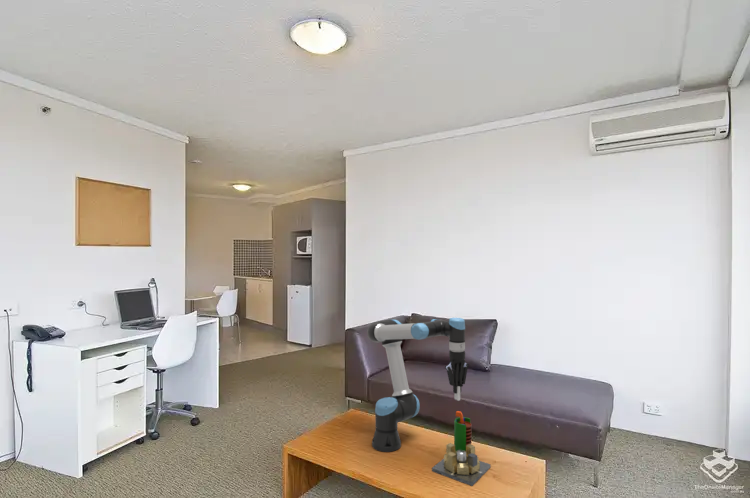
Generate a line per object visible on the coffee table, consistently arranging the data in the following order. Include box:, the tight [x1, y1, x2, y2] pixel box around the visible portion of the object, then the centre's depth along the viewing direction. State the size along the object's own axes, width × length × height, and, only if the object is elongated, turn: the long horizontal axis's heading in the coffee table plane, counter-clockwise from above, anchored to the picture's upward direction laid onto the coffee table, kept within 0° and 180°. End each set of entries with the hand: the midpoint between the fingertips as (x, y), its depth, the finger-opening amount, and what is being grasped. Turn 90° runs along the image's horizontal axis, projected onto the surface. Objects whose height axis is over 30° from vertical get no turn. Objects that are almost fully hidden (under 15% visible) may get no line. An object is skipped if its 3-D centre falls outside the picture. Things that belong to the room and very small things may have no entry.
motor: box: [453, 410, 473, 451], centre depth 209 cm, size 10×9×20 cm
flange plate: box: [431, 450, 492, 487], centre depth 192 cm, size 20×20×8 cm
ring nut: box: [443, 442, 480, 475], centre depth 192 cm, size 16×16×7 cm
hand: (457, 399), depth 198 cm, fingers closed
